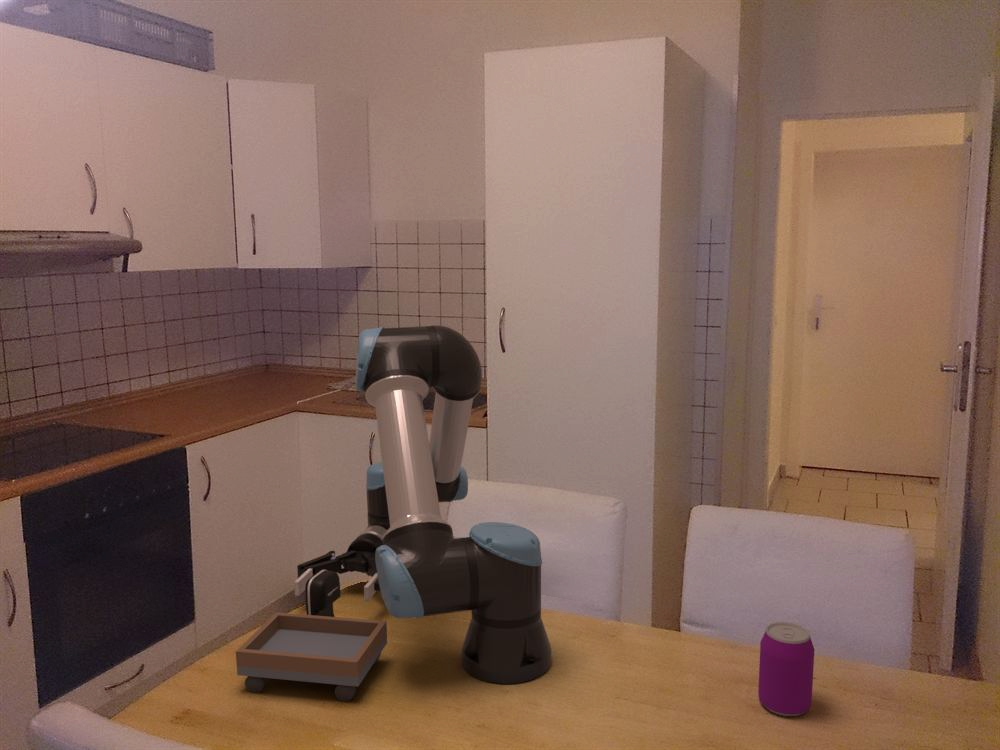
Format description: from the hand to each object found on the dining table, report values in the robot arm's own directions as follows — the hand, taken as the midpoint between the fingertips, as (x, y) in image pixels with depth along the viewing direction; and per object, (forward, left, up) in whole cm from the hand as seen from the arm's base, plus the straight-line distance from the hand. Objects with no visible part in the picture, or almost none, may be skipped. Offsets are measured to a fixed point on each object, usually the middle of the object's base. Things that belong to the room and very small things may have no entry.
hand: (330, 591), depth 154 cm
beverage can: (-78, +14, -7) cm, 80 cm away
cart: (-4, +18, -6) cm, 20 cm away
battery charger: (0, +4, -7) cm, 8 cm away
